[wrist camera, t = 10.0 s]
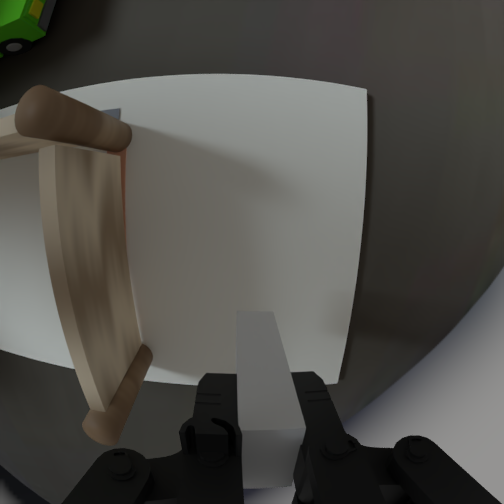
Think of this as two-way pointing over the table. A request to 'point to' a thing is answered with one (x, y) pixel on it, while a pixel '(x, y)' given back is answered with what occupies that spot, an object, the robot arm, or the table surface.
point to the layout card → (211, 220)
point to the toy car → (23, 24)
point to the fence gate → (93, 282)
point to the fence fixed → (59, 125)
